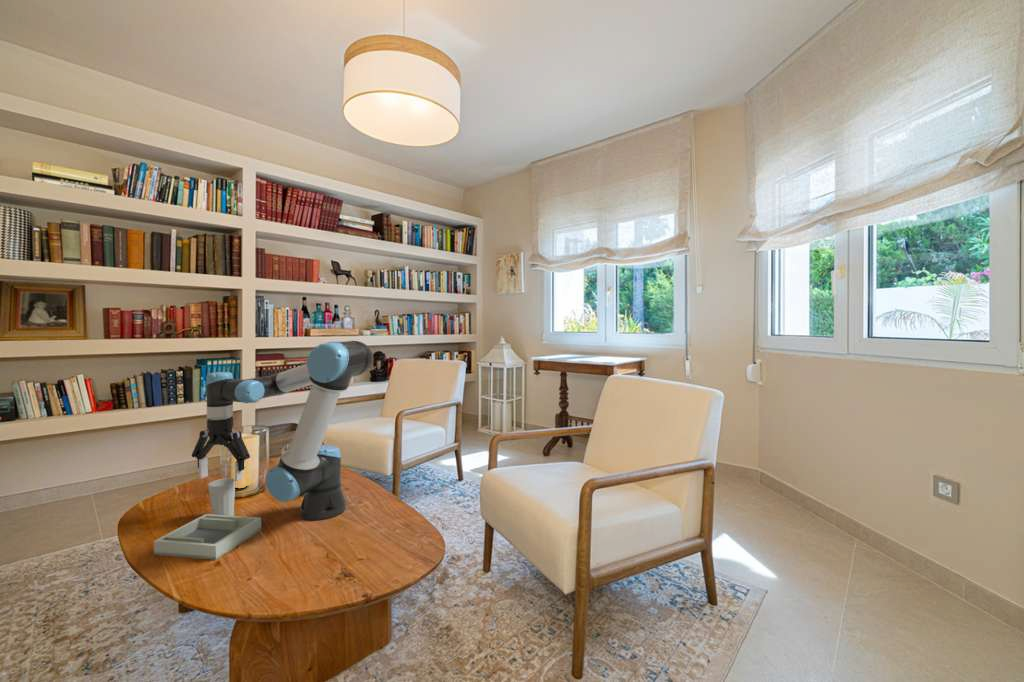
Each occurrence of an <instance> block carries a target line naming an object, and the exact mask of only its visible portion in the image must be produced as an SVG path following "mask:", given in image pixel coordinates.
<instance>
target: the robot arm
mask: <svg viewBox="0 0 1024 682" xmlns="http://www.w3.org/2000/svg"><path fill="white" fill-rule="evenodd" d="M373 361H374V356H373V352H372V349H370V347H369V346H368V345H367V344H366V343H364V342H363V341H359V340H358V341H357V340H348V341H328V342H324V343H321V344H318V345H316V346H315V347H314V348H313V349H312V350H311V351H310V353H309V354H308V357H307V359H306V363H305V364H302V365H299V366H296V367H293V368H290V369H287V370H284V371H281V372H278V373H275V374H272V375H266V376H260V377H251V378H247V379H239V378H238V379H235V378H234V376H233V373H232V372H230V371H220V372H219V371H216V372H209V373H208V374H207V375H206V378H205V379H206V382H205V390H206V394H205V395H206V398H205V399H206V418H207V419H206V429H204V430H201V431H199V438H198V440H197V442H196V444H195V446H194V449H193V451H192V454H191V457H192V458H196V460H197V468H198V471H199V475H198V476H199V479H204V478H206V477H208V476H209V471H208V469H209V468H208V467H209V465H208V463H209V461H208V457H207V455H208V454H209V452H210V451H211V450H212V449H213V447H214V446H217V445H219V446H224V447H226V448H227V450H228V451H229V452H230V454H231V455H232V456H233V458H234V459H235V460H236V461H234V466H235V481H238V480H240V479H242V478H243V470H244V468H245V467H244V463H245V460H249V459H250V458H251V455H250V452H249V450H248V448H247V447H246V444H245V442H244V439H243V438H242V431H240V430H238V431H236V432H235V431H234V432H233V427H234V417H233V415H234V403H243V404H251V403H252V404H255V403H258V402H259V401H260V400H262V399H266V398H271V397H276V396H277V397H279V396H282V395H285V394H287V393H289V392H292V391H295V390H299V389H302V388H306V387H308V386H311V388H310V390H309V393H308V397H307V399H306V401H305V404H304V407H303V409H302V412H301V415H300V417H299V421H298V424H297V427H296V429H295V432H294V434H293V438H292V440H291V443H290V445H289V449H287V450H284V451H283V452H282V454H281V455H280V456H281V457H280V458H279V462H278V464H277V465H275V466H272V467H271V468H270V469H269V470H268V471H267V473H266V475H265V485H266V488H267V490H268V491H267V492H268V493H269V494H270V496H272V498H274V499H275V500H277V501H279V502H282V503H283V502H284V503H287V502H290V501H292V500H296V499H298V497H299V498H300V497H301V496H303V498H302V501H301V505H300V508H299V509H300V510H299V511H300V512H299V513H300V517H301V518H302V519H305V520H311V521H318V520H319V521H321V520H326V519H330V518H333V517H337V516H339V515H341V514H342V513H344V512H345V511H346V510H347V499H346V497H345V493H344V491H343V488H342V475H341V474H342V470H341V469H342V465H341V464H342V462H341V461H342V460H341V459H342V456H341V449H340V448H339V447H338V446H335V445H329V444H328V445H322V443H323V441H324V437H325V436H326V433H327V430H328V427H329V424H330V422H331V419H332V417H333V413H334V410H335V408H336V406H337V403H338V400H339V397H340V394H341V393H342V392H345V391H347V390H348V388H349V385H350V382H351V379H352V378H354V377H357V376H361V375H364V374H365V373H366V372H368V371H369V369H371V367H372V365H373ZM208 438H209V439H208Z"/></svg>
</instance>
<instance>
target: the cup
mask: <svg viewBox="0 0 1024 682" xmlns="http://www.w3.org/2000/svg"><path fill="white" fill-rule="evenodd" d="M235 485H236V481H235V479H233V478H220V479H219V478H218V479H216V480H213V481H210V482H209V483H208V484H207V487H208V494H209V499H210V500H209V501H210V509H211V510H210V511H211V514H215V515H229V516H235V512H234V511H235V498H236V497H235V494H236V489H235Z"/></svg>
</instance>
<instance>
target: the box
mask: <svg viewBox="0 0 1024 682" xmlns="http://www.w3.org/2000/svg"><path fill="white" fill-rule="evenodd" d="M260 531H262V517H258V516H257V517H254V516H243V515H242V516H241V515H240V516H239V515H233V516H229V515H215V514H212V513H205V514H203V515H201V516H199V517H197V518H196V519H193V520H191V521H189V522H188V523H185V524H184V525H181V526H180V527H179V528H176V529H174V530H172V531H171V532H168V533H166V534H165V535H163V536H160V537H159V538H157V539H155V540H154V541H153V555H155V556H167V557H175V558H176V557H178V558H188V559H203V560H213V561H217V560H218V559H219V558H221V557H223V556H224V555H225V554H227V553H229V552H230V551H232V550H234V549H235V548H237V546H239V545H241V544H242V543H244V542H245V541H247V540H248V539H250V538H252V537H253V536H254V535H256V534H257V533H259V532H260Z"/></svg>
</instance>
